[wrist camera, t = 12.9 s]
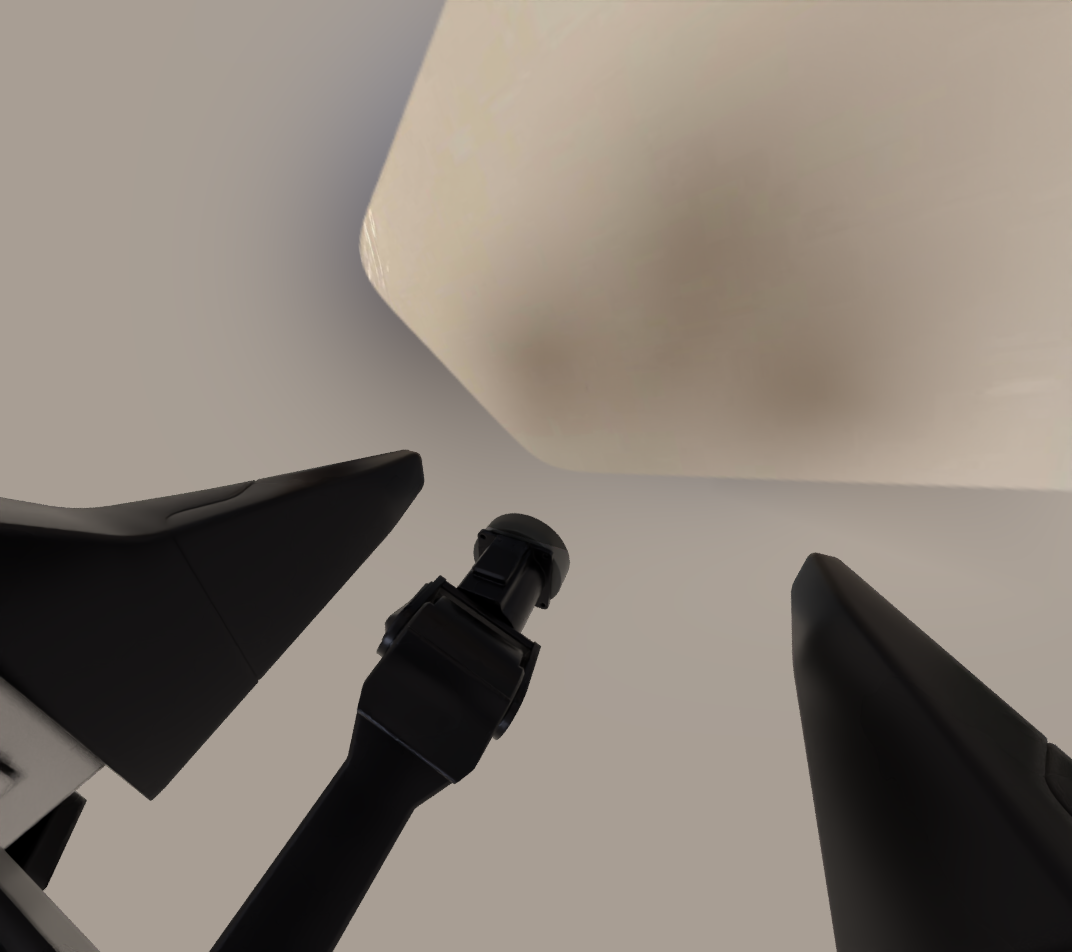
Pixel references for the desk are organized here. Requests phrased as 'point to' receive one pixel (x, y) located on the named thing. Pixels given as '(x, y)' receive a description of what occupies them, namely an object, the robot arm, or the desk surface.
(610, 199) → the desk surface
